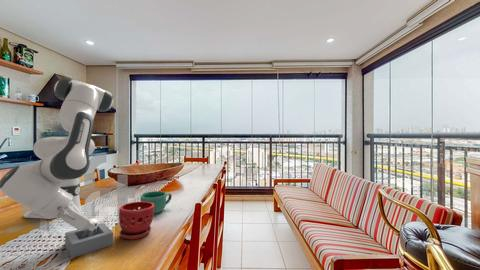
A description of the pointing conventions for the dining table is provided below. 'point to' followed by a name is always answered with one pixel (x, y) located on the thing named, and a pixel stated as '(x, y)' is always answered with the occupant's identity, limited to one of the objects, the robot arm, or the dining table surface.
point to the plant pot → (135, 219)
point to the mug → (156, 199)
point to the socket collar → (88, 240)
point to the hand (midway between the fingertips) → (90, 224)
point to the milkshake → (87, 232)
